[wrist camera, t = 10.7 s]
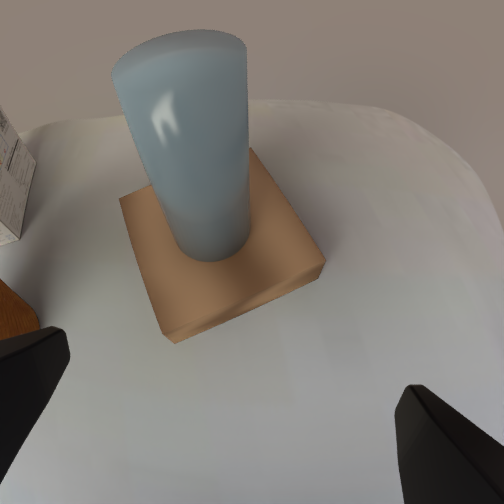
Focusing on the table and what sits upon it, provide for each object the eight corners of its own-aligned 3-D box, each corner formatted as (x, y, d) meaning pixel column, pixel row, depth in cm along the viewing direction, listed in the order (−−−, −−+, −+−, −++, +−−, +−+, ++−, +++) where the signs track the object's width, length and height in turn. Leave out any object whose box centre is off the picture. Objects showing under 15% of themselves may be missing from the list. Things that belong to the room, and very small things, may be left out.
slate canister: (214, 277, 20) (168, 109, 8) (158, 231, 21) (89, 74, 10) (266, 221, 21) (274, 47, 10) (209, 183, 23) (183, 23, 12)
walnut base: (174, 343, 21) (162, 333, 18) (130, 220, 25) (118, 198, 23) (317, 278, 23) (325, 260, 20) (251, 171, 27) (250, 147, 25)
